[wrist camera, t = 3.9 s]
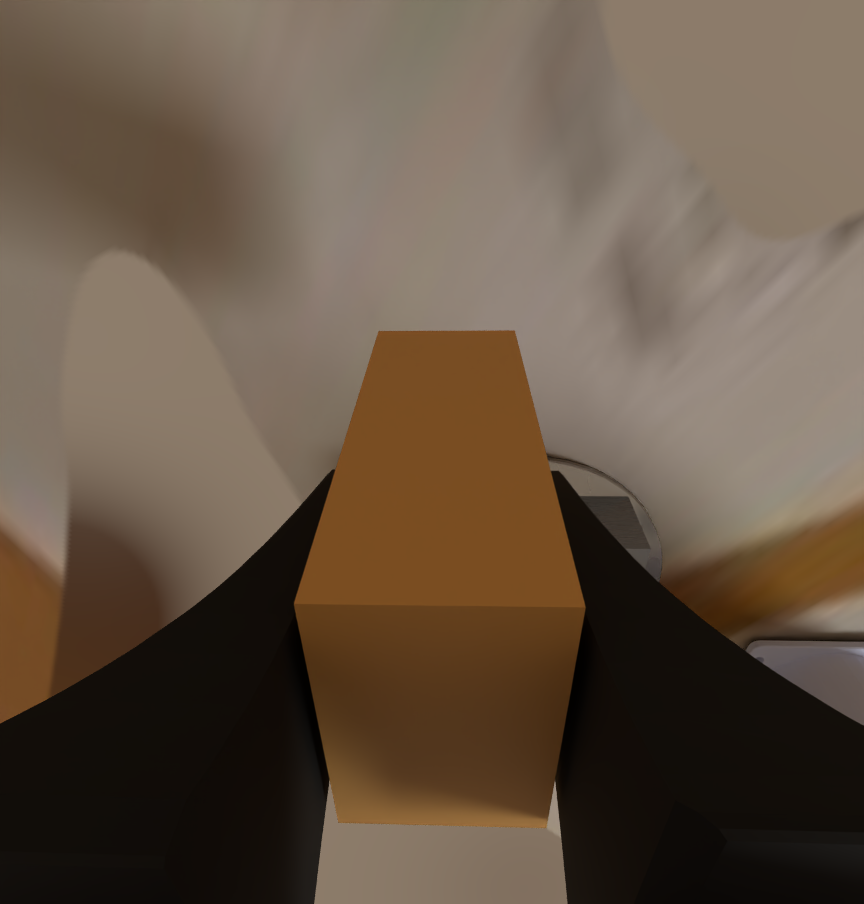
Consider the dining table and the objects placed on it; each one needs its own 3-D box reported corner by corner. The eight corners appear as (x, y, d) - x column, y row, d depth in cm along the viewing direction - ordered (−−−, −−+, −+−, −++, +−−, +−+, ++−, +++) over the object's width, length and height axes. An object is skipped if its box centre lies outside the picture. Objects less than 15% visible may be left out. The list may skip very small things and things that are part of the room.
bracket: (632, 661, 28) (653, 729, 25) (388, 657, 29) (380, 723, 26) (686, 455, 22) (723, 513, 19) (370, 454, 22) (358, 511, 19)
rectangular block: (514, 330, 13) (585, 607, 6) (504, 496, 15) (545, 827, 8) (378, 331, 13) (293, 604, 6) (389, 494, 15) (338, 823, 8)
